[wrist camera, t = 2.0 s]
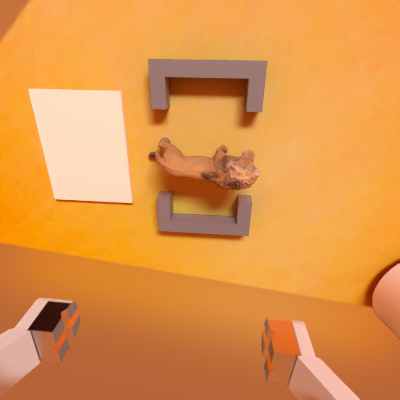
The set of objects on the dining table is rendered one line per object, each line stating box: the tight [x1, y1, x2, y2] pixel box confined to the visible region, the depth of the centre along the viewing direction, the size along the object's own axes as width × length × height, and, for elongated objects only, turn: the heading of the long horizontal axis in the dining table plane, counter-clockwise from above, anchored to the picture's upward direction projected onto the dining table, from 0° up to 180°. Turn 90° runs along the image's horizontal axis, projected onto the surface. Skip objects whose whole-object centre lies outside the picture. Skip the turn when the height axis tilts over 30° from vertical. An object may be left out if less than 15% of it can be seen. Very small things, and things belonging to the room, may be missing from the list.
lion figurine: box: [149, 138, 259, 190], centre depth 29 cm, size 12×4×7 cm, turn 92°
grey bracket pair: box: [148, 59, 267, 236], centre depth 31 cm, size 11×19×2 cm, turn 179°
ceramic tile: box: [28, 89, 134, 203], centre depth 32 cm, size 10×13×1 cm
